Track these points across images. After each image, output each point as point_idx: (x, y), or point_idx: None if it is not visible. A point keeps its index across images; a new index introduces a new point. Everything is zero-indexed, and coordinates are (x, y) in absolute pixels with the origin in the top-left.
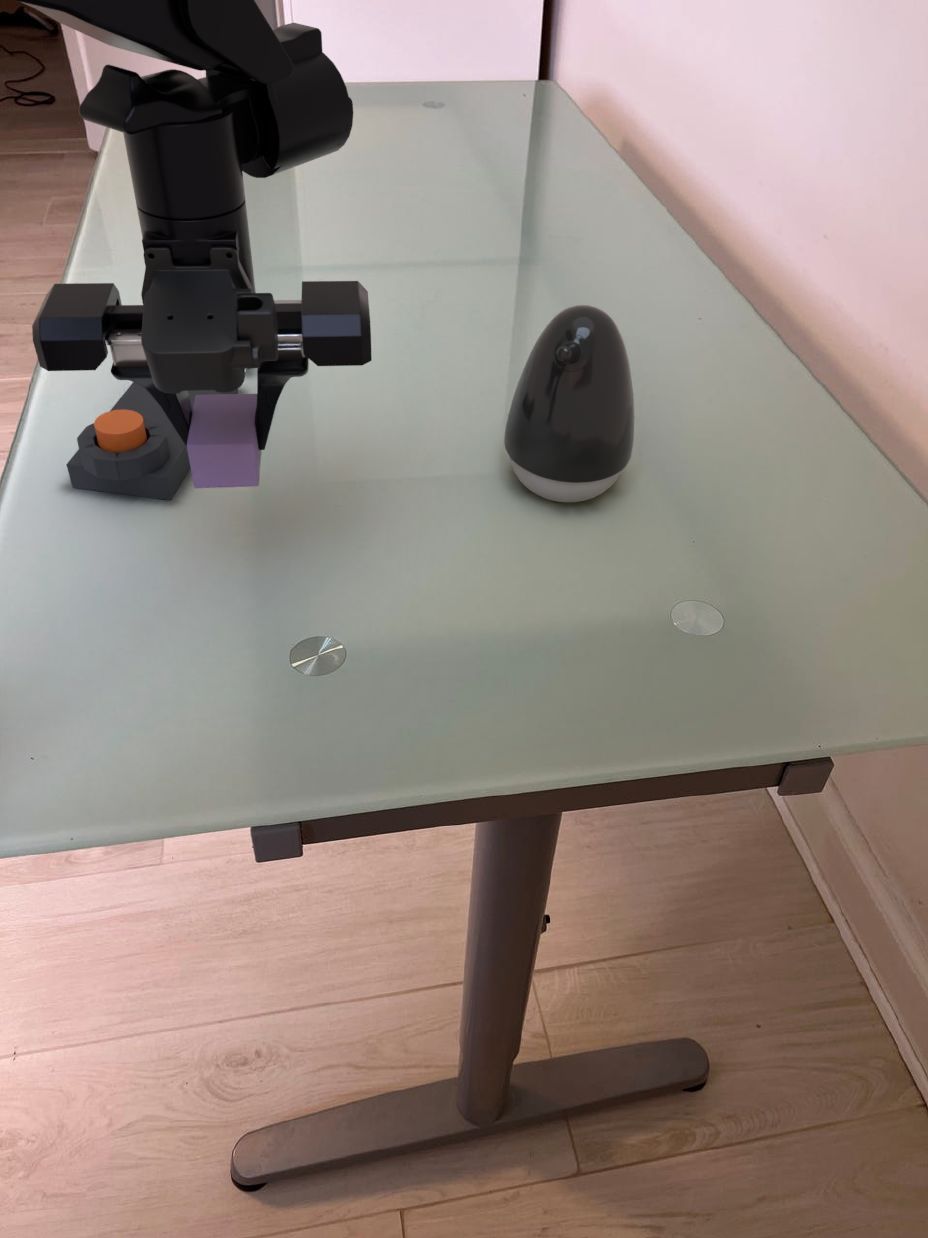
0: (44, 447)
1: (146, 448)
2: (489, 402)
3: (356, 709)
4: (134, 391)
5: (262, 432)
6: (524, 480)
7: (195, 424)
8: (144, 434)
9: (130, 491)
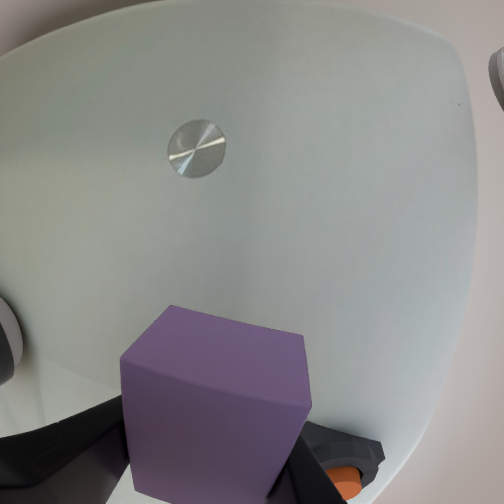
0: (381, 476)
1: None
2: None
3: (178, 74)
4: None
5: (119, 406)
6: (10, 322)
7: (268, 468)
8: None
9: (338, 434)
